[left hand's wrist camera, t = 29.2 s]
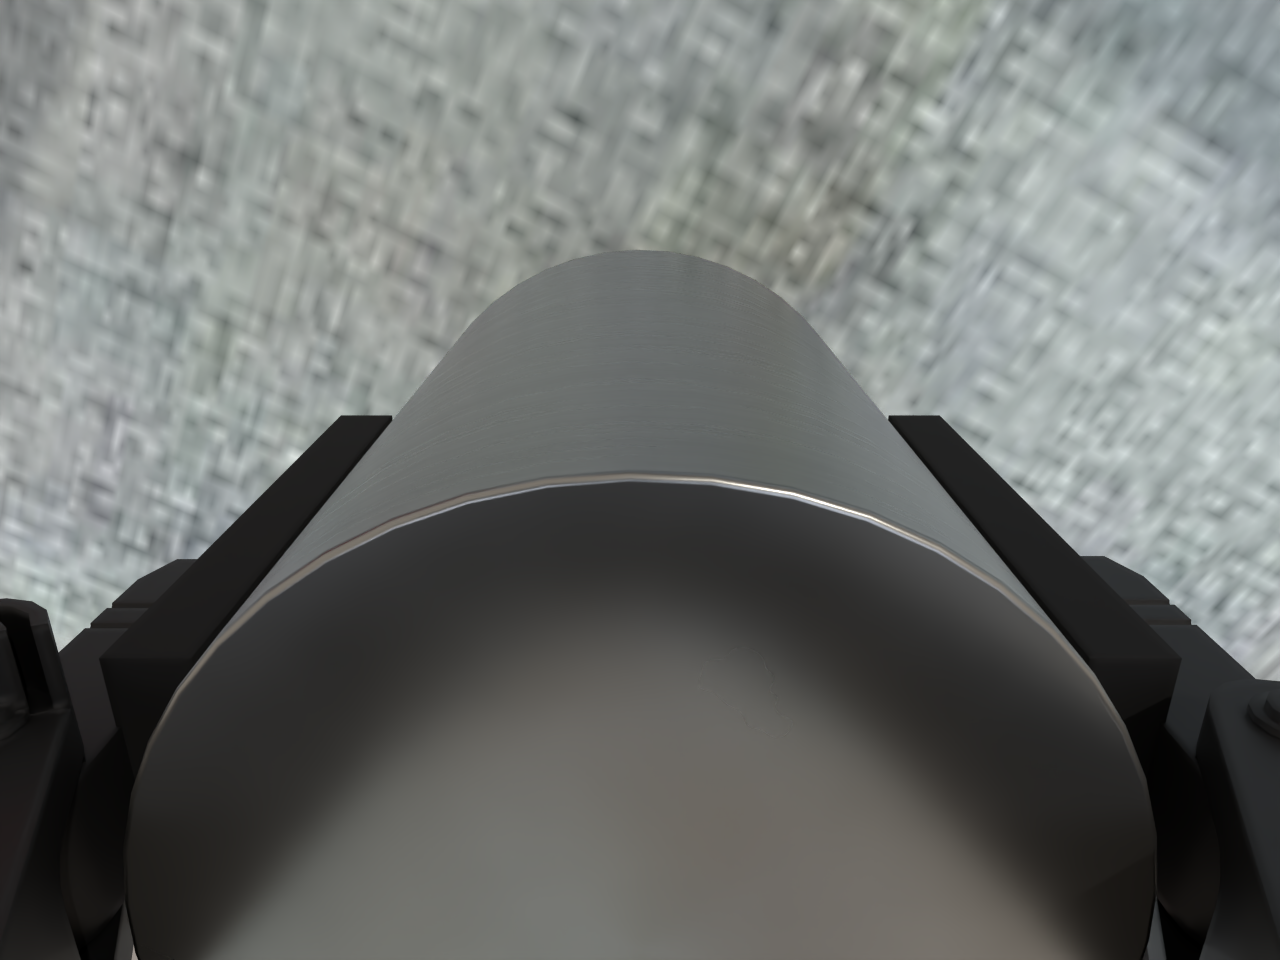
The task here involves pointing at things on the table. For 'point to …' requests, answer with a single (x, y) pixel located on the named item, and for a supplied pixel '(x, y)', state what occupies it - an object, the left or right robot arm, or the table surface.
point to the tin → (640, 679)
